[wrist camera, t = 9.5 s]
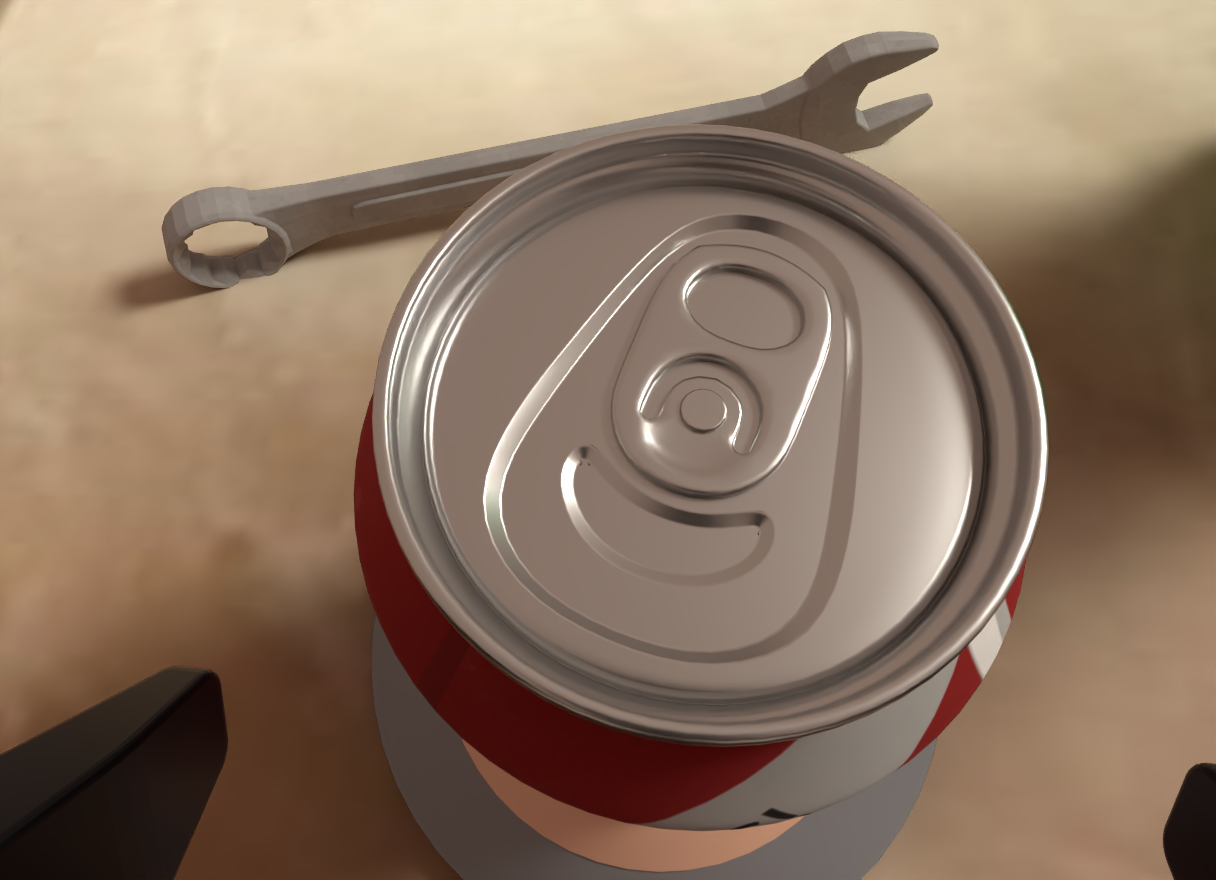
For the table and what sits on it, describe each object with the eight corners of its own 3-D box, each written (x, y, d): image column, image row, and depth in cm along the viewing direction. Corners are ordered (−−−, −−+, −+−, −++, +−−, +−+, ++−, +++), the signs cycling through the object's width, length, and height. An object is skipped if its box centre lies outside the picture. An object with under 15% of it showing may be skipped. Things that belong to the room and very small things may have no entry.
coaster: (887, 1042, 16) (898, 1052, 15) (288, 849, 17) (276, 852, 17) (966, 459, 20) (977, 449, 20) (482, 337, 22) (479, 324, 21)
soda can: (430, 723, 18) (119, 611, 6) (563, 437, 20) (508, -10, 9) (745, 866, 17) (1030, 1028, 5) (847, 547, 19) (1194, 203, 8)
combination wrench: (128, 227, 19) (979, 52, 20) (126, 180, 20) (958, 13, 21) (204, 312, 23) (928, 158, 24) (201, 270, 23) (911, 122, 24)
